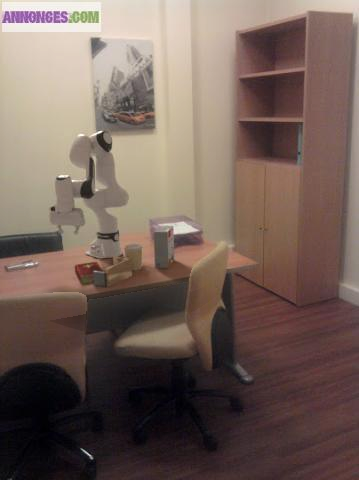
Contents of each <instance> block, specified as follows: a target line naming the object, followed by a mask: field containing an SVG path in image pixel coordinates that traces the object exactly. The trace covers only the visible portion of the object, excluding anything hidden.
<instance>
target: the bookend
mask: <svg viewBox="0 0 359 480" xmlns="http://www.w3.org/2000/svg"><path fill="white" fill-rule="evenodd" d="M93 278H94V281H93V285H94V286H98V287H101V288H107V287H108V286H107V279H106V271H104V272H100V271H93Z"/></svg>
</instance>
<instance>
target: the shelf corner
mask: <svg viewBox="0 0 359 480" xmlns="http://www.w3.org/2000/svg"><path fill="white" fill-rule="evenodd" d="M112 262H113V263H112V265H111V266H109V267H107V268H105V273H106V279H107V287H108V288H110V287H112V286H115V285H117V284H118V283H120V282H123V281H124V280H126V279H129V278H131V277H132V276H133V273H132V271H133V270H132V268H131V259H128V258H126V257H124V256H123V257H121V256H114V257H112Z"/></svg>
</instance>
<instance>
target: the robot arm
mask: <svg viewBox="0 0 359 480" xmlns="http://www.w3.org/2000/svg"><path fill="white" fill-rule="evenodd" d="M112 149H113V139H112V135H111V134H110V133H109V132H108V131H106V130H101V131H97V132H96V133H94V134H93V133H92V134H91V135H90V136H88V135H86V134H79V135H77V136H76V137H75V138H74V140H73V142H72V144H71V147H70V151H69V156H68V157H69V160H70V162H71V163H72V165H74V166H75V167H77V168H80V169H83V170H85V178H83V179H72V177H71V175H68V174H61V175H58V176H56V177H55V180H54V187H55V188H54V189H55V196H56V204H55V205H52V206H49V207H48V209H49V222H50V224H51V225H54V226H56V228H57V229H58V232H59V234H64V233H65V232H64V228H62V226H65V227H66V226H69V227H74V228H75V229H74V231H73V235H78V234H79V230H80V227H83V226H85V225H86V218H85V215H84V210H83V209H82V208H80V207H76V204H75V199H82V201H83V204H84V206H85V207H86V208H87V209H89V210H91V212H92V213H93V214H94V215H95V217H96V219H97V225H98V231H97V232H96V233H95V236H96V238H95V239H94V240H93V241H91V242H90V244H89V246H88V247H89V250H87V251H86V252H85V255H87V256H90V257H93V258H97V259H99V260H100V259H107V258H108V259H109V258H113V257H114V256H117V257H121V256H122V255H123V253H124V252H123V249H122V247H121V243H120V231H119V224H118V217H117V216H116V215H115V214H113V213H111V212H108V211H107V209H112V208H113V209H114V208H121V207H124V206H127V204H128V203H129V200H130V197H129V193H128V191H127V190H126V189H125V188H123V187H122V186H120V184H119V183H118V181H117V178H116V177H117V176H116V166H115V165H116V163H115V158H114V155H113V152H111V151H112ZM94 156H95V159H96V161H94V158H93V157H94ZM95 162H96V163H95ZM95 182H97V183H98V184H99V185H101V186H103V187H104V188H96V183H95Z"/></svg>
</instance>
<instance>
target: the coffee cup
mask: <svg viewBox="0 0 359 480" xmlns="http://www.w3.org/2000/svg"><path fill="white" fill-rule="evenodd" d="M124 254H125V258H128V259H131V268H132V271H138V270H141V269H142V268H143V267H142V266H143V246H142V245H141V244H139V243H138V244H137V243H133V244H127V245H125V246H124Z"/></svg>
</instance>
